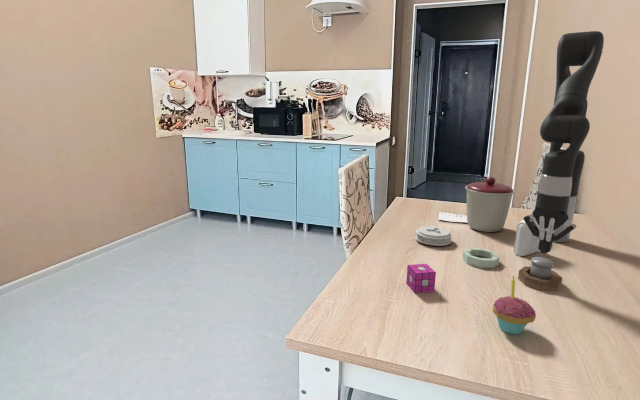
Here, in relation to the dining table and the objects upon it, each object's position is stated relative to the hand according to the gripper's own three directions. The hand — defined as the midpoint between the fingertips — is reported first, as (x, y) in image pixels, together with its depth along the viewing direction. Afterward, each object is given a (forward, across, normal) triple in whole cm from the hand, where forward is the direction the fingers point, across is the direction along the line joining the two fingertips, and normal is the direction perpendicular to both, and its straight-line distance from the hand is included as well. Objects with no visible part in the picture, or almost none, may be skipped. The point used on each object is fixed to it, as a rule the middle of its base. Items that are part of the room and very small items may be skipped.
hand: (543, 252), depth 108 cm
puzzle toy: (+10, +21, +28) cm, 36 cm away
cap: (+8, 0, 0) cm, 9 cm away
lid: (+9, +38, -7) cm, 40 cm away
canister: (+9, +32, -36) cm, 49 cm away
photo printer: (+9, +11, -21) cm, 25 cm away
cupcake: (+9, -4, +30) cm, 32 cm away
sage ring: (+9, +18, -2) cm, 20 cm away
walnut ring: (+9, 0, 0) cm, 9 cm away
